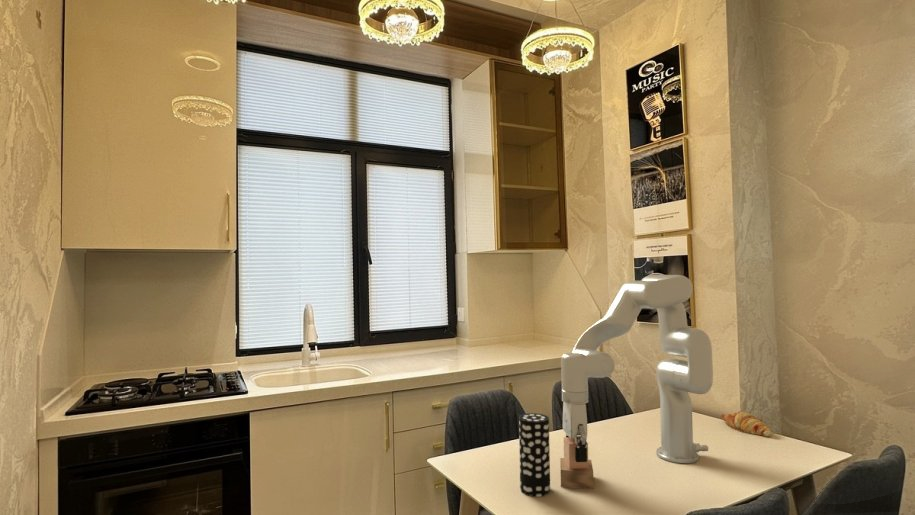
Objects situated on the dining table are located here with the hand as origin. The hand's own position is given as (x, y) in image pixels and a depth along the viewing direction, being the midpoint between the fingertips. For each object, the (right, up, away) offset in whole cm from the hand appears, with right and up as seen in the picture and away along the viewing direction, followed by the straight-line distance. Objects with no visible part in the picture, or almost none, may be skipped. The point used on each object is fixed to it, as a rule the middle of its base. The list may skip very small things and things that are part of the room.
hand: (576, 455), depth 141 cm
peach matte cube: (0, -3, 0) cm, 3 cm away
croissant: (+75, -8, +43) cm, 87 cm away
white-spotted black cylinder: (-13, -8, -6) cm, 16 cm away
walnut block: (0, -8, 0) cm, 8 cm away
